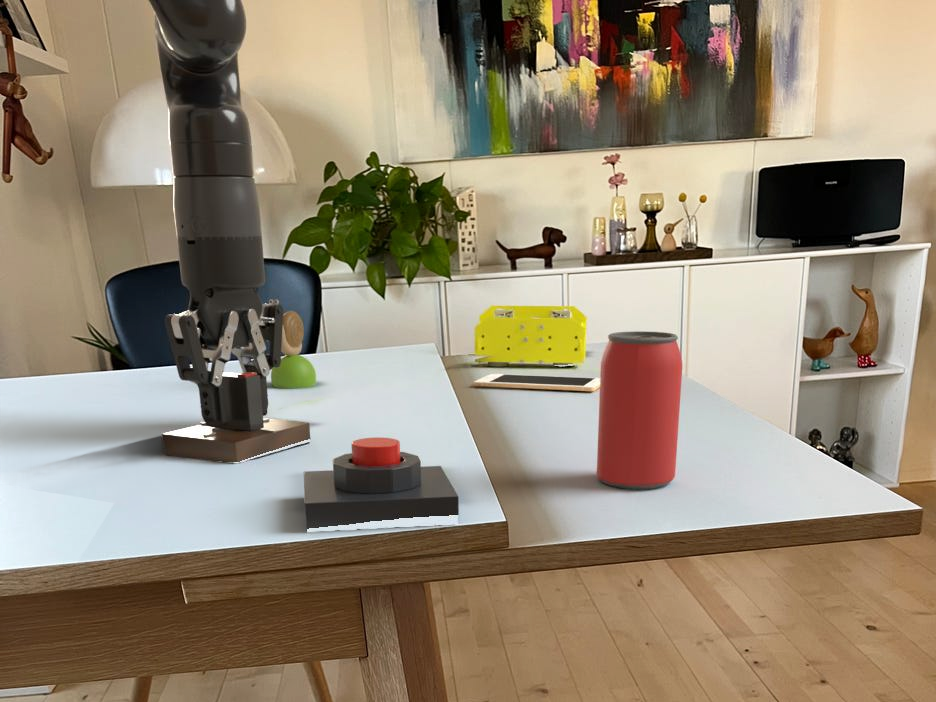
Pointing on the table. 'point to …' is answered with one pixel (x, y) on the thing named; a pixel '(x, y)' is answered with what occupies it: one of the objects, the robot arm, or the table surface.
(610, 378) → the beer can
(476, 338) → the yellow toy chassis
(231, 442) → the dial panel
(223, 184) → the robot arm
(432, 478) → the button block
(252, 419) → the dark grey rectangular block
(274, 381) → the snail figurine
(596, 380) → the cell phone
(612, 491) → the table surface
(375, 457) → the button
